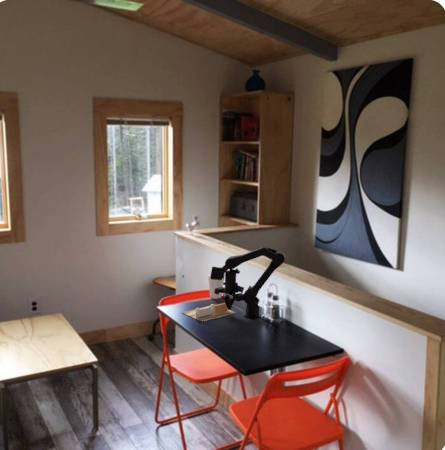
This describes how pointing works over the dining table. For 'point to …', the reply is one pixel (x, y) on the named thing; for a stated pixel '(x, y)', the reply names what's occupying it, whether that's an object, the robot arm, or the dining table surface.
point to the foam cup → (215, 284)
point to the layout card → (208, 317)
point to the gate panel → (220, 308)
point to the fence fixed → (205, 311)
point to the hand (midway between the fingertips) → (229, 309)
